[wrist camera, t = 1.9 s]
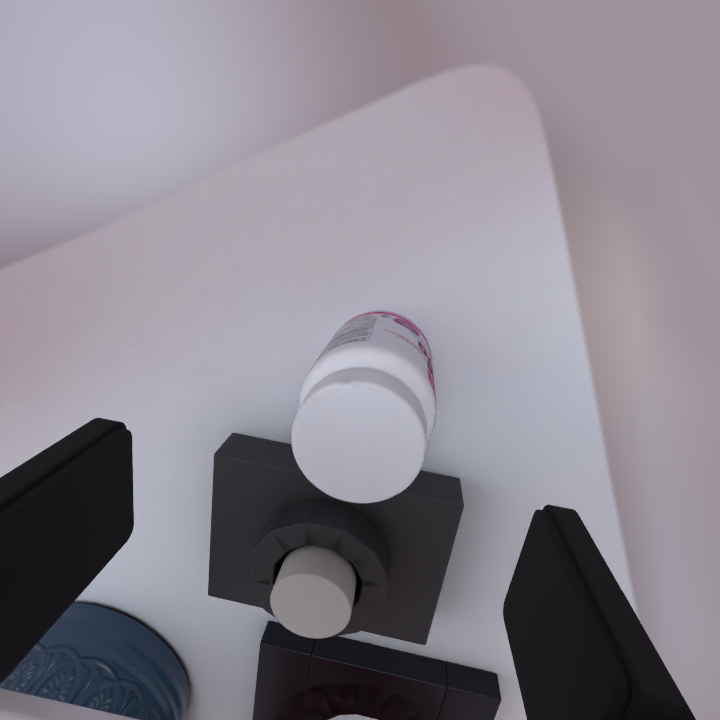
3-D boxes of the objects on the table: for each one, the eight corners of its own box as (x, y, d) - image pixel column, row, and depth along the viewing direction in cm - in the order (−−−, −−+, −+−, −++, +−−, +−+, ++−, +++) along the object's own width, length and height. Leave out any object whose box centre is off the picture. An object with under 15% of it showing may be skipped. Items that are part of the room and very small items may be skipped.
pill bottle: (451, 374, 20) (472, 475, 12) (366, 420, 22) (336, 539, 14) (396, 288, 19) (381, 337, 11) (311, 342, 21) (244, 420, 13)
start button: (361, 554, 20) (356, 585, 18) (350, 613, 21) (344, 647, 19) (285, 537, 20) (273, 566, 18) (278, 596, 21) (266, 628, 20)
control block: (460, 477, 22) (469, 532, 18) (425, 610, 25) (426, 680, 21) (232, 432, 23) (195, 474, 19) (224, 565, 26) (191, 625, 22)
